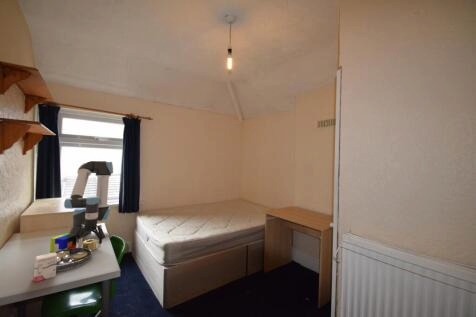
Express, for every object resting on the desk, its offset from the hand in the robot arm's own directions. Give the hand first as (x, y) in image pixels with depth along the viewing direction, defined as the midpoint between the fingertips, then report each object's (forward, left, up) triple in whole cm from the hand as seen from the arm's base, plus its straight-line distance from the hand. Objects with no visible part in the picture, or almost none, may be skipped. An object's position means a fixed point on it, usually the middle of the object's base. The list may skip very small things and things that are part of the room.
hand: (89, 248), depth 148 cm
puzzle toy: (+3, -16, -2) cm, 16 cm away
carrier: (+19, -1, -1) cm, 19 cm away
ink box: (+37, +2, -1) cm, 37 cm away
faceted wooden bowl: (0, 0, -1) cm, 1 cm away
